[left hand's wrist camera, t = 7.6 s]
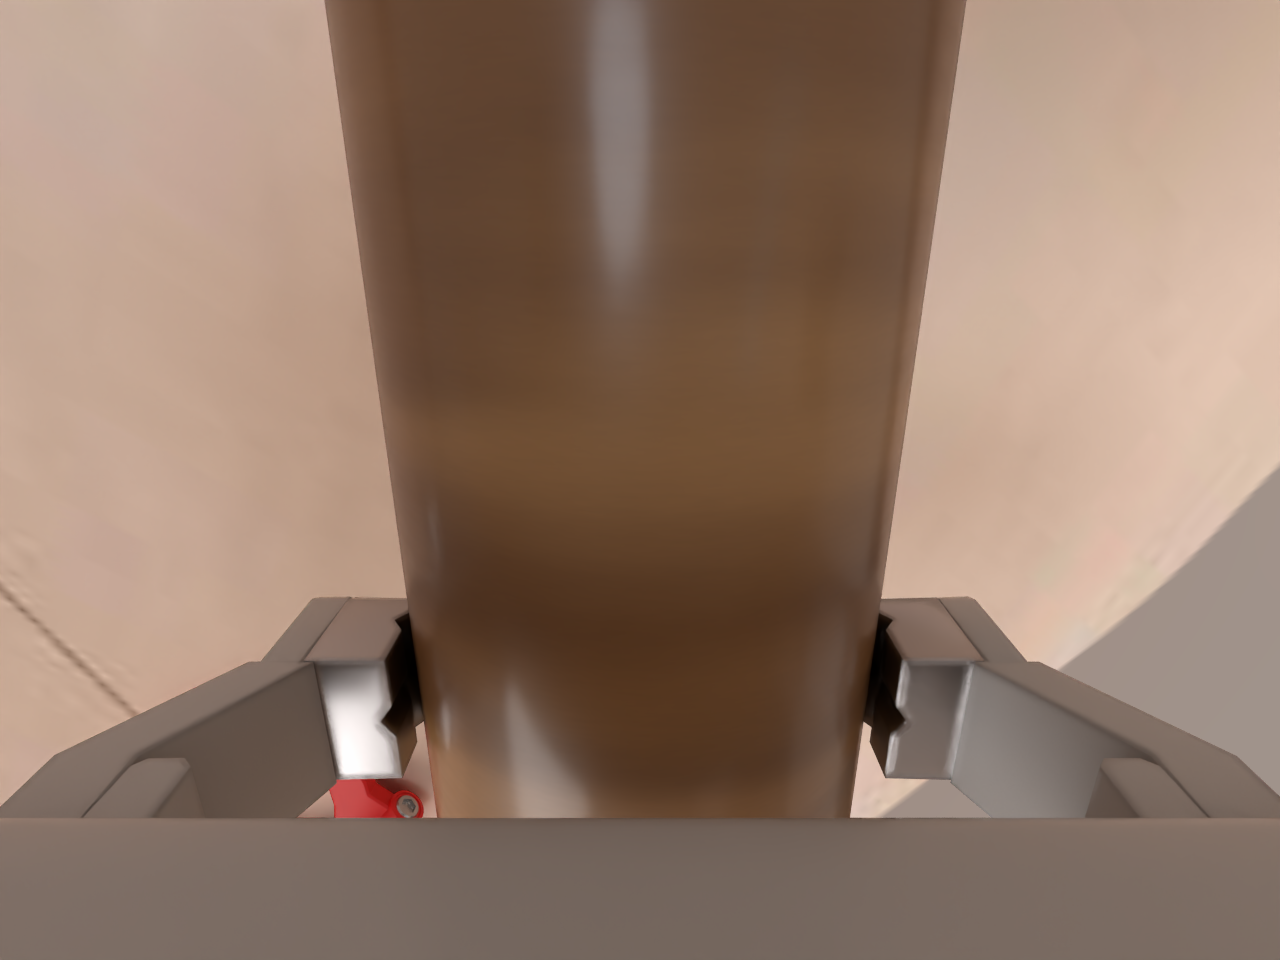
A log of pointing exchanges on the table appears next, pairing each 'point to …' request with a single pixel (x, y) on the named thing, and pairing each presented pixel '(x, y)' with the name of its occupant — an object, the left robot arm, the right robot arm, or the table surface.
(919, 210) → the rod
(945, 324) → the table surface
